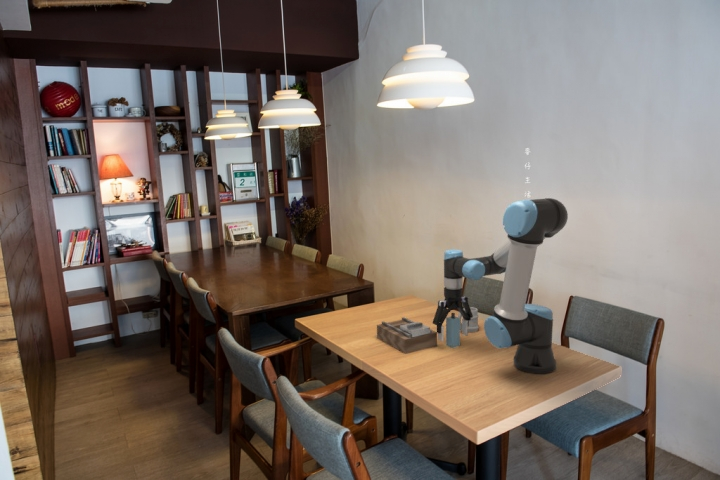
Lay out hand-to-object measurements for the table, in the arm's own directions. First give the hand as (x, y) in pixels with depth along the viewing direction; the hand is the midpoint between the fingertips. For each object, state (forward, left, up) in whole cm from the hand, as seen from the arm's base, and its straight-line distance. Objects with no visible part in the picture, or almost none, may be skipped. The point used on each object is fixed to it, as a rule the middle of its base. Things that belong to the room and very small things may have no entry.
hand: (452, 337), depth 219 cm
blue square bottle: (0, 0, -3) cm, 3 cm away
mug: (+11, -17, -4) cm, 21 cm away
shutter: (+7, +14, +3) cm, 16 cm away
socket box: (+14, +14, -3) cm, 20 cm away
